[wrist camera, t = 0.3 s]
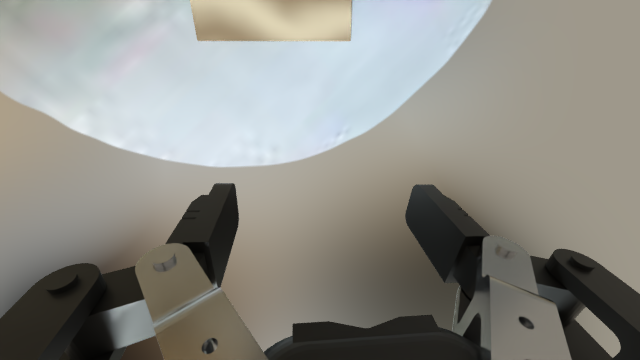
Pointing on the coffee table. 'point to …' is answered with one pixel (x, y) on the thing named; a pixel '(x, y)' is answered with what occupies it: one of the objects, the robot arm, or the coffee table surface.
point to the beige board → (272, 20)
